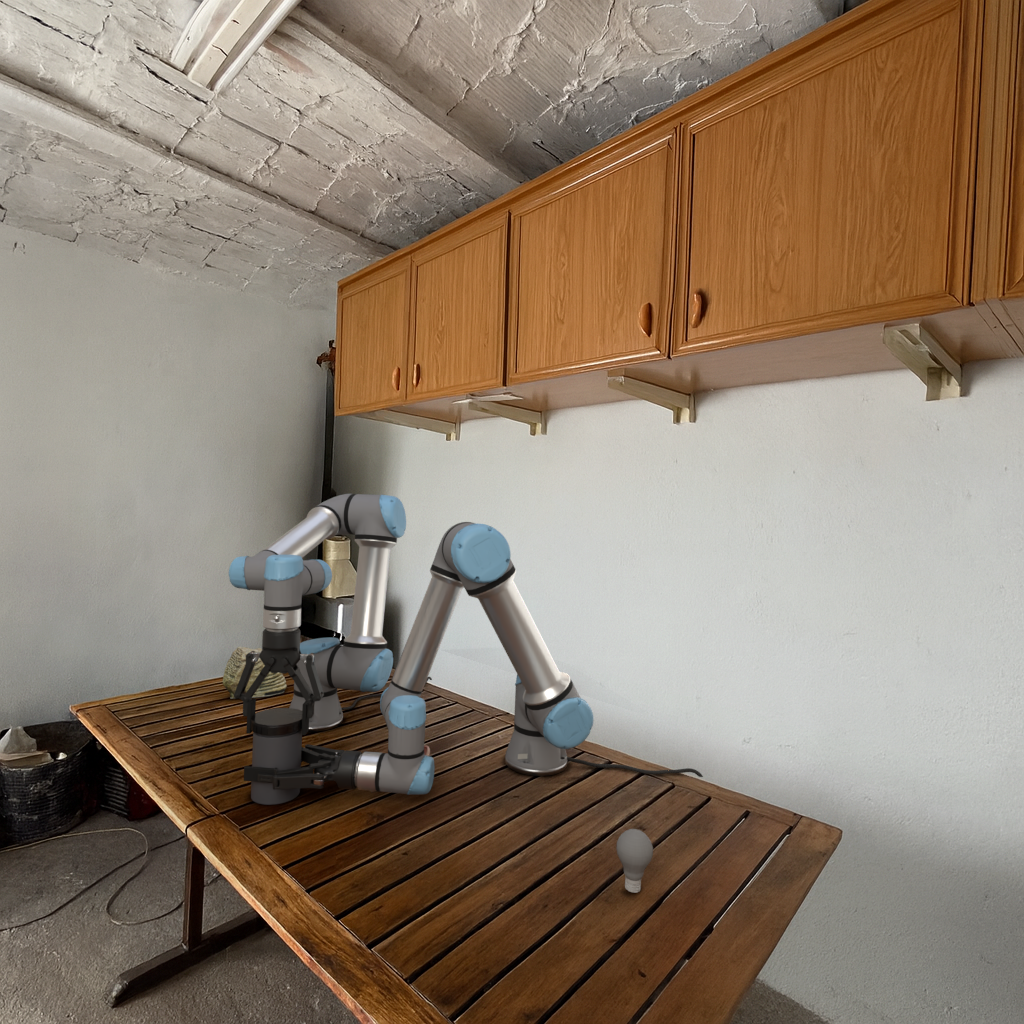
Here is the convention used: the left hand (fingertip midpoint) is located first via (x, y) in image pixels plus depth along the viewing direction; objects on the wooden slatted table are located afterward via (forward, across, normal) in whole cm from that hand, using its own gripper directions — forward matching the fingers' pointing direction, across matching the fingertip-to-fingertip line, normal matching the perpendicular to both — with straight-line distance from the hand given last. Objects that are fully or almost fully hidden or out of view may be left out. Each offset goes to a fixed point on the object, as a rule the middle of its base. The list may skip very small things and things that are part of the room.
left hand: (277, 732), depth 134 cm
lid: (-3, 0, 0) cm, 3 cm away
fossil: (+13, -28, +65) cm, 72 cm away
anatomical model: (+13, +24, +15) cm, 31 cm away
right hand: (+7, -4, 0) cm, 8 cm away
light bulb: (+13, +69, -32) cm, 77 cm away
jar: (+13, 0, 0) cm, 13 cm away
